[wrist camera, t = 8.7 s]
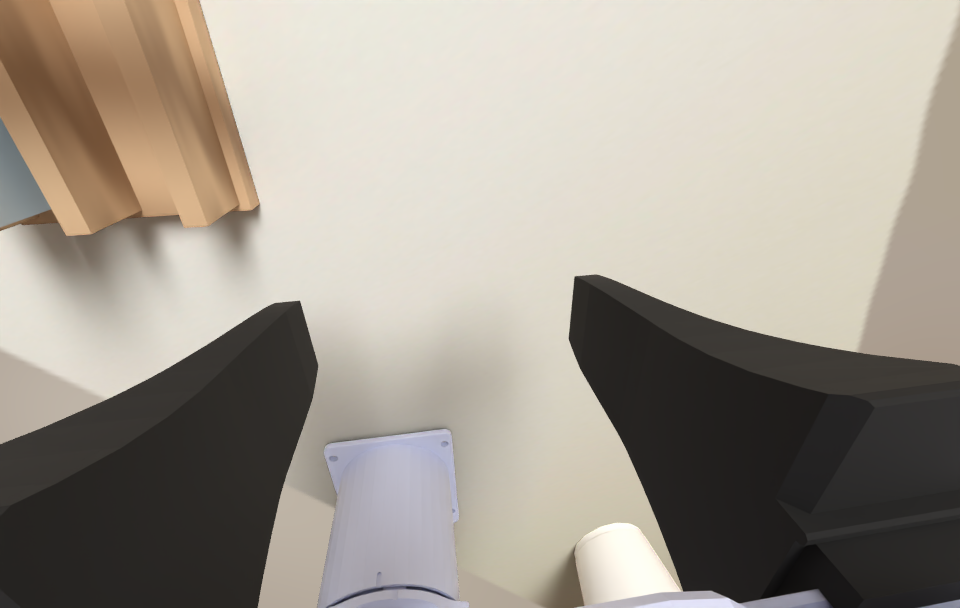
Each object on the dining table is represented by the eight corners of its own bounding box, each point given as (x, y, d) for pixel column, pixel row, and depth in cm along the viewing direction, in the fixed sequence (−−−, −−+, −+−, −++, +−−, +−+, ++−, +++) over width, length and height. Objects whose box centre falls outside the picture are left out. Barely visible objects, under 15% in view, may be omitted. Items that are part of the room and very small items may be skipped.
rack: (259, 203, 18) (222, 233, 15) (42, 217, 17) (-53, 252, 14) (180, -61, 14) (101, -108, 10) (-119, -62, 13) (-318, -114, 9)
